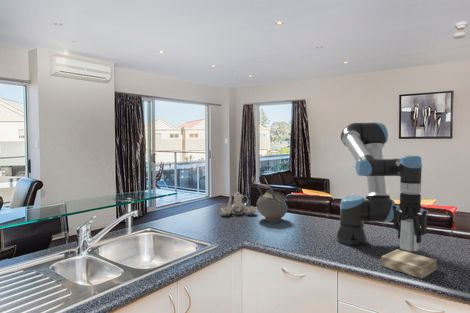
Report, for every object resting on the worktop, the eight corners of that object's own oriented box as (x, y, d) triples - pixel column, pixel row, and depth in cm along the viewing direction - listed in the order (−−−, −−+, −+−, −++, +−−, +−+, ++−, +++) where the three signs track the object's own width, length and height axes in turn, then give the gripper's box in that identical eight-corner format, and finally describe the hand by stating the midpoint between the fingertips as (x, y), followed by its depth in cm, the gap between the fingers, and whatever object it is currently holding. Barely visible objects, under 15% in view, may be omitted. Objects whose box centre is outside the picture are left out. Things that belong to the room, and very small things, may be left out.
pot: (262, 225, 196) (262, 185, 194) (252, 217, 216) (252, 181, 214) (292, 223, 201) (292, 184, 199) (280, 215, 221) (280, 180, 219)
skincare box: (408, 246, 133) (408, 218, 133) (419, 249, 129) (419, 220, 129) (399, 248, 130) (399, 220, 130) (410, 251, 126) (410, 222, 126)
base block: (381, 265, 133) (381, 256, 132) (397, 257, 141) (397, 249, 141) (421, 278, 120) (422, 268, 120) (436, 269, 128) (436, 259, 128)
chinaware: (221, 219, 217) (221, 196, 214) (217, 212, 233) (217, 190, 230) (259, 217, 223) (260, 195, 220) (253, 210, 239) (254, 189, 236)
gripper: (384, 191, 134) (383, 244, 135) (430, 196, 119) (428, 256, 121) (393, 189, 138) (392, 241, 139) (438, 194, 124) (436, 252, 125)
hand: (409, 248), depth 130 cm, fingers closed on skincare box, 5 cm apart
